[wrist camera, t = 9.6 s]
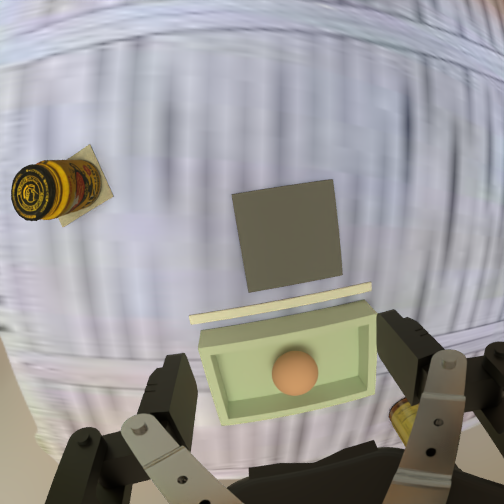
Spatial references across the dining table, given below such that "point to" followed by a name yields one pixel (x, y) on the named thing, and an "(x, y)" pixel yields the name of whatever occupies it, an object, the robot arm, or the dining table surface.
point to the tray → (280, 342)
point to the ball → (295, 373)
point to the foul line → (280, 304)
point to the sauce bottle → (405, 420)
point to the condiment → (60, 188)
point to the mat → (288, 234)
